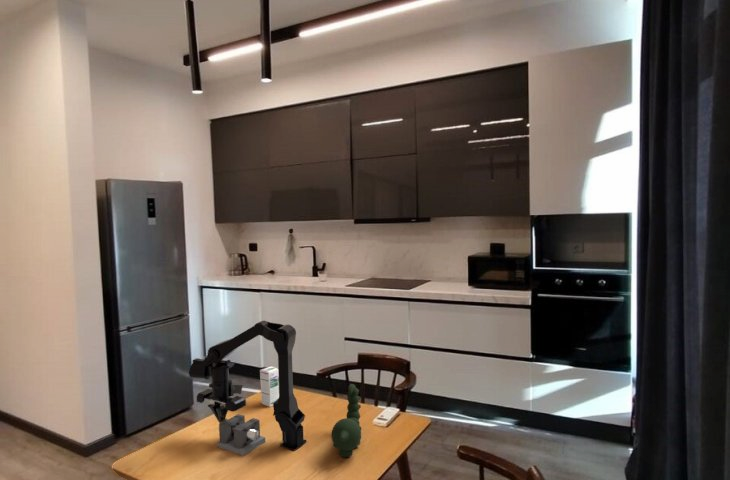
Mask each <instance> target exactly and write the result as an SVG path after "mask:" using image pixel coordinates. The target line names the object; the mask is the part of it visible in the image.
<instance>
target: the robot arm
mask: <svg viewBox="0 0 730 480" xmlns="http://www.w3.org/2000/svg"><path fill="white" fill-rule="evenodd" d="M258 336H261V337H263V338H264V339H266V340H267V341H270V342H272V344H273V347H274V350H275V352H276V354H277V363H278V364H277V366H278V367H277V368H278V371H279V398H278V399H277V400H276V401H275V402H274V403H273V406H272V407H273V414H272V416H274V419H275V421H276V422H277V423H278V426H279V428H280V431H281V432H282V433H281V435H282V436H281V437H282V442H281V443H280V444H279V446H280V447H282V448H286V449H289V450H292V451H296V450H298V449H299V448H300V447H302V446H303V445H304V444H306V443H307V439H304V426H303V425H302V423H303V422H304V421H305V418H306V415H305V413H303V411H302V410H301V409H300V408H299V405H298V400H297V397H296V396H295V394H294V378H293V373H294V372H293V351H294V346H295V342H296V336H297V331H296V328H295V327H294V326H292V325H291V324H281V323H275V322H269V321H267V320H261V321H259V322H257V323H256V324H254V325H253V326H251V327H250V328H248V329H246V330H244V331H243V332H241V333H240V334H238V335H236V336H234V337H233V338H229V339H226V340H222V341H221V342H219V343H217V344H215V345H212V346H211V347H209V348H208V349H207V355H206V357H205V358H204V359H202V358H197V357H195V358H194V359H192V363H191V365H190V366H189V370H188V375H189V378H190V379H193V380H194V379H195V380H209V379H210V377H211V382H210V383H209V384H208V387H209V388H207V389H205V390H203V391H200V392H198V394H197V395H196V403H199V404H203V403H205V399H206V400H208V401H209V404H208V405H207V407H208V408H209V409H210V411H211V412H212V414H213V415H214V416H215V419H216V420H217V421H218V423H219V424H220V423H221V422H222V420H224V419H226V417H227V414H228V412H236V411H239V410H240V409H242V408H244V407H246V406H247V399H246V398H245V397H243V396H238V395H241V394H242V391H243V386H244V385H243V384H240V383H236V382H233V381H232V379H230V372H229V369H231V368H232V367H234V366H235V363H234V362H233V361H231V360H230V359H228V360H225V359H226V358H229V356H230V355H232V354H233V353H234V352H235V351H236V350H237V349H239V347H241V346H242V345H245V344H246V343H248V342H249V341H251V340H254V338H257V337H258ZM223 360H225V361H223ZM234 394H238V395H236V396H234ZM233 396H234V397H233Z"/></svg>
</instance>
